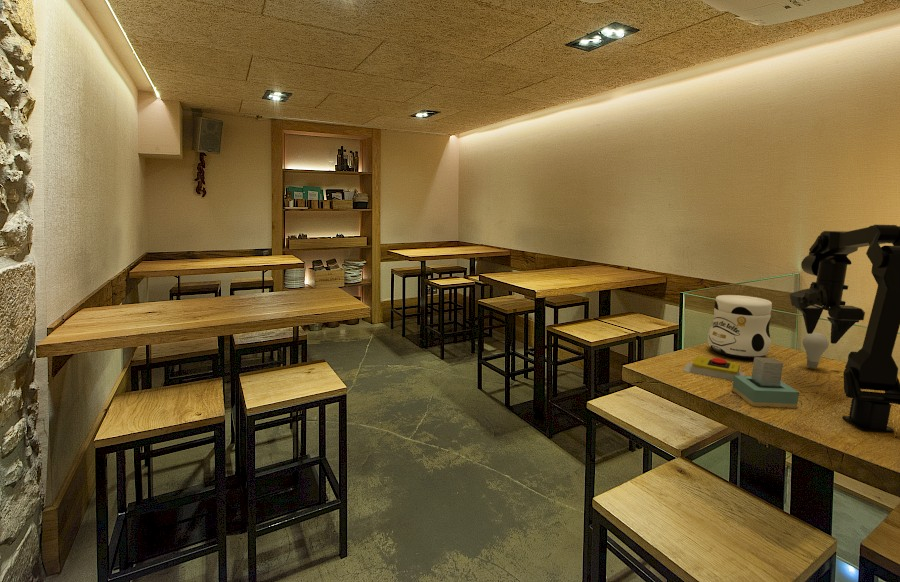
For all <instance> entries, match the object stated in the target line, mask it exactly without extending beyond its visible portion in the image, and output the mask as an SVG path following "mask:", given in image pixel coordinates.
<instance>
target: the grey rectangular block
mask: <svg viewBox="0 0 900 582" xmlns="http://www.w3.org/2000/svg"><path fill="white" fill-rule="evenodd" d="M783 367H784V363H783V362H782V361H779V360H778V359H775V358H773V357H765V356H763V357H754V358H753V365H752V371H751V376H752V378H751V382H752V383H753V384H755V385H756V386H758V387H759V388H780V382H781V381H782V375H783V369H784V368H783Z"/></svg>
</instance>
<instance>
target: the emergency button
mask: <svg viewBox="0 0 900 582" xmlns="http://www.w3.org/2000/svg"><path fill="white" fill-rule="evenodd" d="M682 372H684V373H688V372H689V374H693V373H694V375H698V374H700V376H703V375H705V376H704V377H709V376H711V377H710V378H714V377H715V379H719V378H720V380H724V379H726V380H725V381H731V382H733V380H734V375H735V376H746V373H745V372H742V371H740V363H738V362H732V361H729V360H726V359H723V358H719V357H718V358H717V357H714V358H709V357H704V356H700V355H699V356H696V357H695V358H694V360H693V362H687V363H686V364H685V366H684V368H683V369H682Z"/></svg>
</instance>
